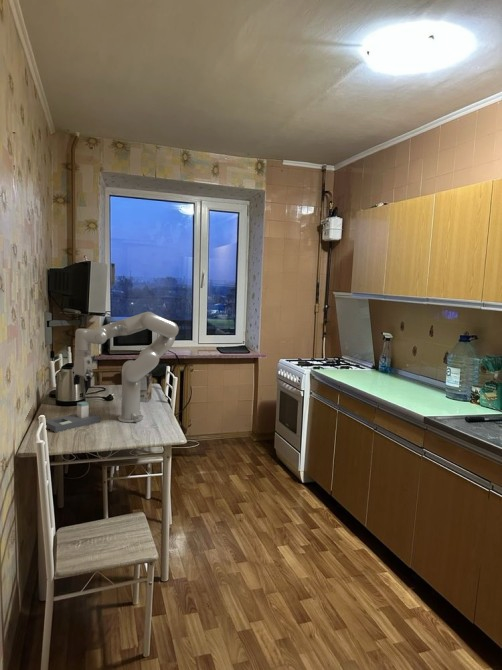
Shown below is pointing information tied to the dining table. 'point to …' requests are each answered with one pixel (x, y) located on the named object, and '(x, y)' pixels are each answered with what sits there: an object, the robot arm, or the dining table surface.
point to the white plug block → (82, 409)
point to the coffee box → (146, 388)
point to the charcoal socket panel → (71, 422)
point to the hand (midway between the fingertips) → (82, 386)
